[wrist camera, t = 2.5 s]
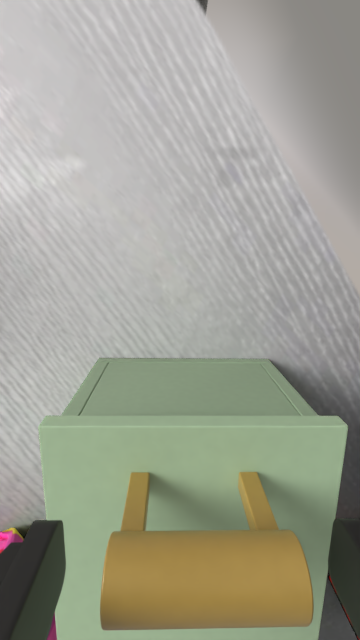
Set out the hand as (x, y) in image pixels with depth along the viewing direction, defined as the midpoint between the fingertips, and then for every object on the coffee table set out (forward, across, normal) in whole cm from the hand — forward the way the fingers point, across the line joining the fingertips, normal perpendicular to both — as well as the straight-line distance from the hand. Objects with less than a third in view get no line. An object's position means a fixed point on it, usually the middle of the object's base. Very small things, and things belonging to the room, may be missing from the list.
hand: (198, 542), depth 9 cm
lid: (+3, 0, +5) cm, 6 cm away
